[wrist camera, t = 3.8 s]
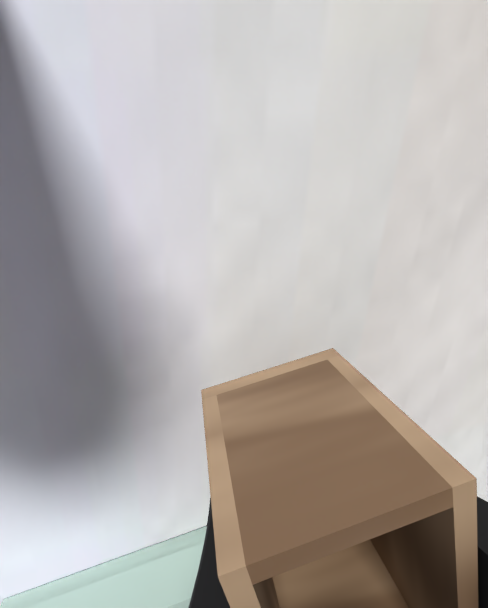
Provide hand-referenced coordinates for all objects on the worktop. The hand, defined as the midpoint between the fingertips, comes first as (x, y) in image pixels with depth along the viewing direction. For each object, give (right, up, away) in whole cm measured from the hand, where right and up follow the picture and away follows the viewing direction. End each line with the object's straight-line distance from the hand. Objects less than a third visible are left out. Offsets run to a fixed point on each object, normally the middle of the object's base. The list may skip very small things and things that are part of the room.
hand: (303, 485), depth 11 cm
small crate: (0, 0, +1) cm, 2 cm away
